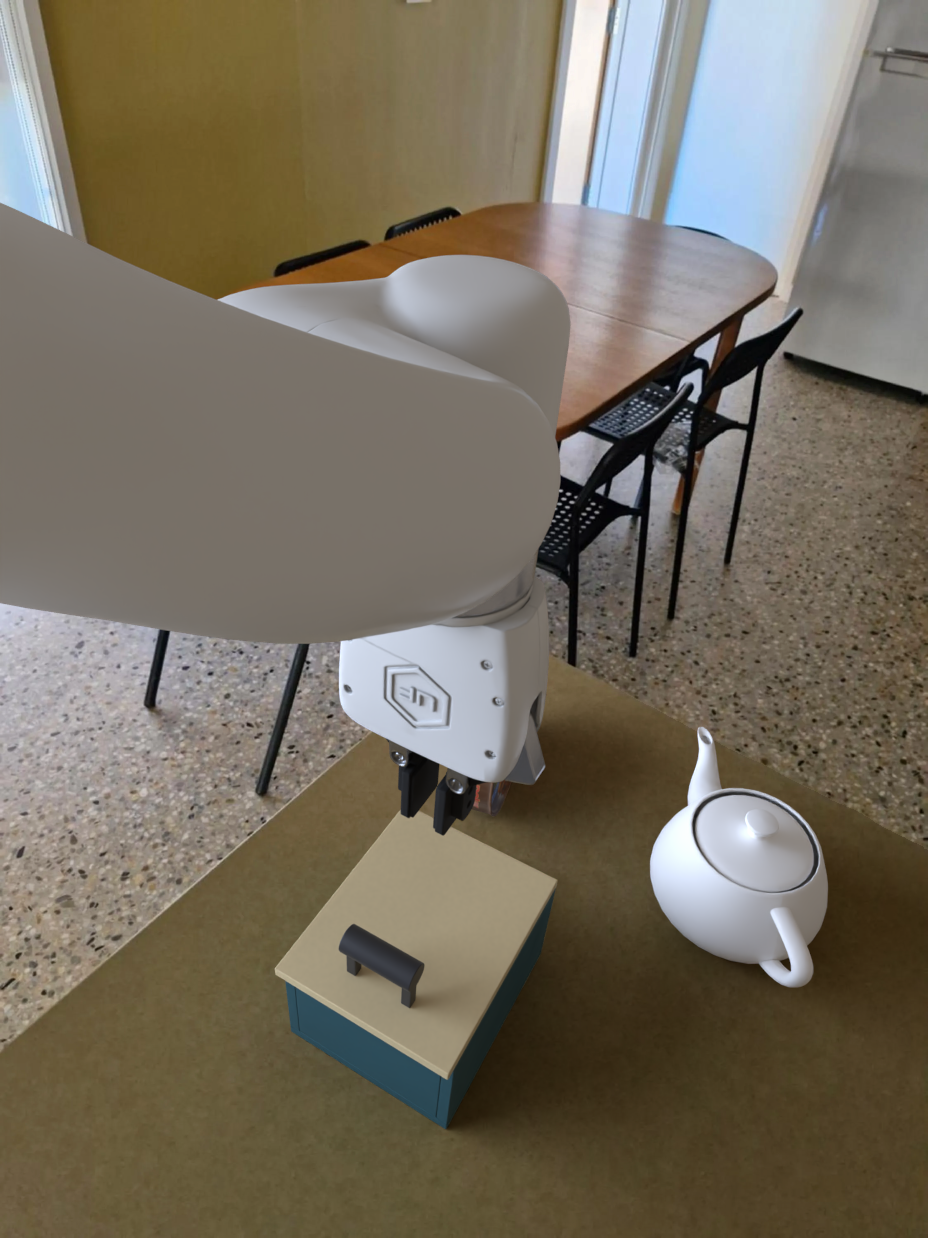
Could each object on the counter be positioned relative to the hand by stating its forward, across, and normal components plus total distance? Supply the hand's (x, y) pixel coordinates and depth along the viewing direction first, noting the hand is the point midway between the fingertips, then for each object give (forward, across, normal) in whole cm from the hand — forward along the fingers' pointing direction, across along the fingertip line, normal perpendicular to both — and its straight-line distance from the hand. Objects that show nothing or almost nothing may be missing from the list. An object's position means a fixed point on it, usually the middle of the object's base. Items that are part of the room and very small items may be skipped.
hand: (435, 807), depth 52 cm
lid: (+12, 0, 0) cm, 12 cm away
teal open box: (+21, 0, 0) cm, 21 cm away
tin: (+21, -5, +22) cm, 31 cm away
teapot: (+21, +17, +20) cm, 34 cm away
